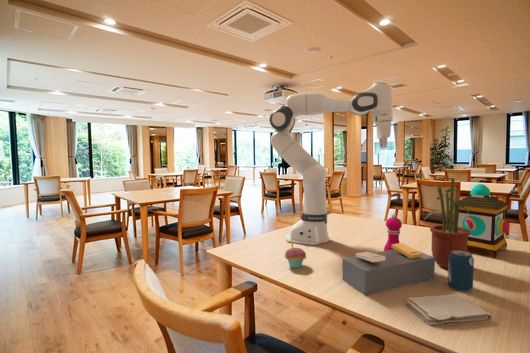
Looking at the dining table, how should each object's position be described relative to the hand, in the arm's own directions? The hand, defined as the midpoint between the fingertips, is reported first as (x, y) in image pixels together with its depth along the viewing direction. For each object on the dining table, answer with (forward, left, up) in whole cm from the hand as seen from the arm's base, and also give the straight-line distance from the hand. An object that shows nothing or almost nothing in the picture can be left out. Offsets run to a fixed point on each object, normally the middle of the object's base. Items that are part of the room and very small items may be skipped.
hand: (383, 147), depth 139 cm
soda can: (+18, -43, -47) cm, 66 cm away
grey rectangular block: (-4, -41, -47) cm, 63 cm away
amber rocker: (+2, -37, -37) cm, 52 cm away
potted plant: (+20, -22, -47) cm, 56 cm away
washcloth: (+8, -60, -48) cm, 77 cm away
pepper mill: (+1, -23, -47) cm, 52 cm away
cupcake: (-38, -34, -47) cm, 70 cm away
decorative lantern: (+41, -1, -47) cm, 62 cm away
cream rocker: (-11, -46, -37) cm, 60 cm away
